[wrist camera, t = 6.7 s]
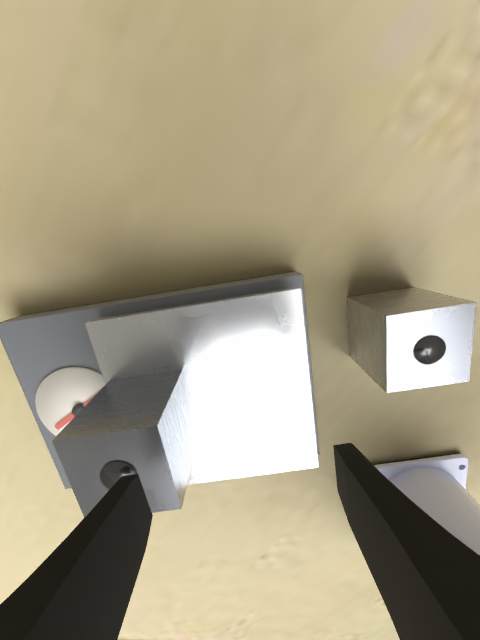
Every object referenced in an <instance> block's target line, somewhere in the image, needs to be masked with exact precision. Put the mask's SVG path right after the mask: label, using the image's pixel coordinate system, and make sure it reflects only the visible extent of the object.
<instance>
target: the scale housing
mask: <svg viewBox="0 0 480 640" xmlns="http://www.w3.org/2000/svg"><path fill="white" fill-rule="evenodd" d="M294 287H300V288H301V294H302V304H303V314H304V325H305V335H306V345H307V355H308V366H309V376H310V386H311V396H312V407H313V417H314V427H315V438H316V448H317V455H319V443H318V433H317V422H316V412H315V401H314V390H313V380H312V369H311V359H310V348H309V337H308V327H307V316H306V306H305V295H304V284H303V275H302V274H300V273H298V272H296V271H295V272H288V273H282V274H276V275H270V276H264V277H257V278H251V279H245V280H239V281H233V282H227V283H220V284H214V285H208V286H202V287H196V288H189V289H183V290H177V291H171V292H165V293H158V294H152V295H146V296H140V297H134V298H127V299H121V300H115V301H109V302H103V303H97V304H90V305H84V306H78V307H72V308H66V309H59V310H53V311H47V312H41V313H35V314H28V315H22V316H18V317H15V318H12V319H9V320H6V321H3V322H0V339H1V341H2V344H3V346H4V348H5V350H6V353H7V355H8V357H9V360H10V362H11V364H12V367H13V369H14V371H15V374H16V376H17V378H18V380H19V383H20V385H21V387H22V390H23V392H24V394H25V397H26V399H27V401H28V403H29V406H30V408H31V410H32V413H33V415H34V417H35V420H36V422H37V424H38V426H39V429H40V431H41V433H42V436H43V438H44V440H45V443H46V445H47V447H48V449H49V452H50V454H51V456H52V459H53V461H54V463H55V466H56V468H57V470H58V472H59V475H60V477H61V479H62V482H63V484H64V486H65V489H67V488H72V487H71V485H70V482H69V480H68V478H67V475H66V473H65V471H64V468H63V466H62V464H61V461H60V459H59V457H58V454H57V452H56V450H55V447H54V445H53V443H52V440H53V439H54V438H55V437H56V436H57V435H58V434H59V433H60V432H61V431H62V430H63V429H64V427H65V426H66V425H67V424H68V423H69V422H70V421H71V420H72V419H73V418H74V417H75V416H76V415H77V414H78V413H79V412H80V411H81V410H82V409H83V408H84V407H85V405H86V404H87V403H88V402H89V401H90V400H91V399H92V398H93V397H94V396H95V395H96V394H97V393H98V392H99V391H100V390H101V389H102V388H103V387H104V386H105V382H104V379H103V376H102V373H101V370H100V367H99V364H98V361H97V358H96V355H95V352H94V349H93V346H92V343H91V340H90V337H89V334H88V331H87V328H86V325H85V322H87V321H89V320H93V319H100V318H106V317H112V316H118V315H125V314H131V313H137V312H144V311H150V310H156V309H162V308H169V307H175V306H181V305H188V304H194V303H200V302H206V301H213V300H219V299H225V298H231V297H238V296H244V295H250V294H257V293H263V292H269V291H275V290H282V289H288V288H294Z"/></svg>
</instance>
